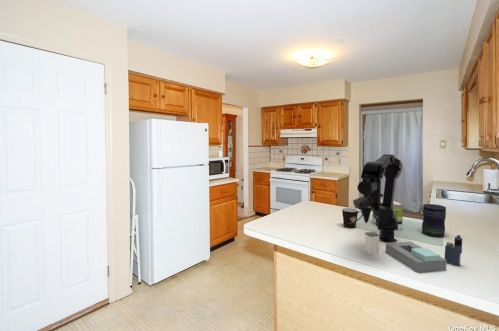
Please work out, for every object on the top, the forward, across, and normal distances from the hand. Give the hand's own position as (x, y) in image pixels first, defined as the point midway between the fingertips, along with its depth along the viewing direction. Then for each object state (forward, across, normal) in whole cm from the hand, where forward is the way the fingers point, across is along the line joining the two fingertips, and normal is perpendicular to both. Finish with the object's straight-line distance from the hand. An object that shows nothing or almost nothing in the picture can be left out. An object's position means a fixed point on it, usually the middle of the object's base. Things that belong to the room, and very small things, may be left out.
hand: (372, 226), depth 111 cm
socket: (+12, +10, +12) cm, 20 cm away
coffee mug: (+12, -32, +9) cm, 36 cm away
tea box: (+12, -30, +29) cm, 44 cm away
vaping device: (+12, +15, +25) cm, 32 cm away
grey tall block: (+12, 0, 0) cm, 12 cm away
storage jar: (+12, -14, +44) cm, 48 cm away
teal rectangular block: (+8, +15, +12) cm, 21 cm away
